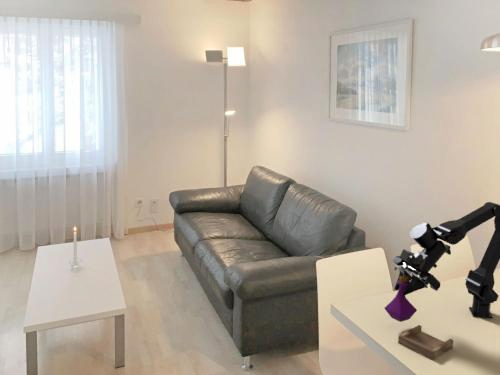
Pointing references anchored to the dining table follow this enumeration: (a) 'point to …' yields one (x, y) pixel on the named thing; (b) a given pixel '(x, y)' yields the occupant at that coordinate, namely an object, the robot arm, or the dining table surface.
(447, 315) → the dining table surface
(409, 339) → the wooden tray
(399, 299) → the perfume bottle
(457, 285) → the dining table surface
